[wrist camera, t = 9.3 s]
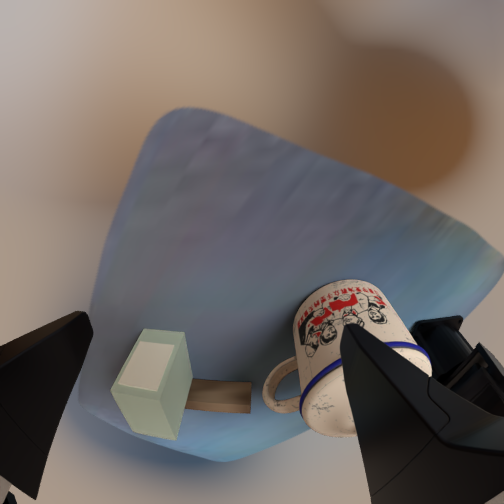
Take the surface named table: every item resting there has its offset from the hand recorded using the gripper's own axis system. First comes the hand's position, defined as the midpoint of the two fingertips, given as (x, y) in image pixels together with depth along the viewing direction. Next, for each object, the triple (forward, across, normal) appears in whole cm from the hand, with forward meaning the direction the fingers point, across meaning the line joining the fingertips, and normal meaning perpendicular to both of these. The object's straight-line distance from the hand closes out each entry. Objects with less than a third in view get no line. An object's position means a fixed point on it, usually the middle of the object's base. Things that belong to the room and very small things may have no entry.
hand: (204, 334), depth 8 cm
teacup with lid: (+12, -8, +9) cm, 17 cm away
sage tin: (+12, +7, +13) cm, 19 cm away
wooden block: (+12, +5, +17) cm, 21 cm away
